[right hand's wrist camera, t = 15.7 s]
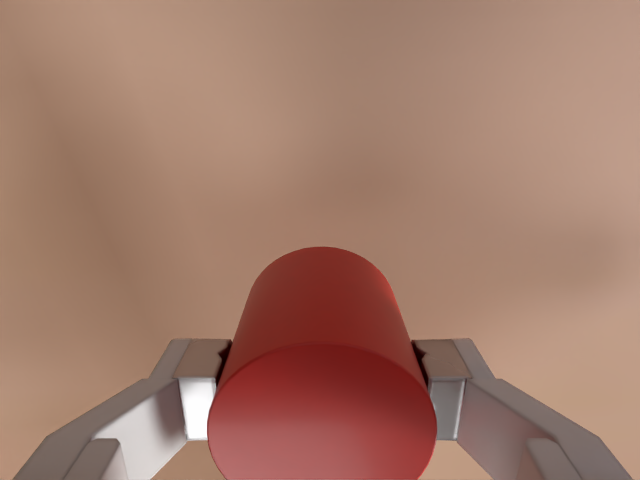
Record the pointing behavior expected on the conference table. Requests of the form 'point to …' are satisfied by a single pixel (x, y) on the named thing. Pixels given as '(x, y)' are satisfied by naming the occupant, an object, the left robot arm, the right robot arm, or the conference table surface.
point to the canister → (321, 378)
